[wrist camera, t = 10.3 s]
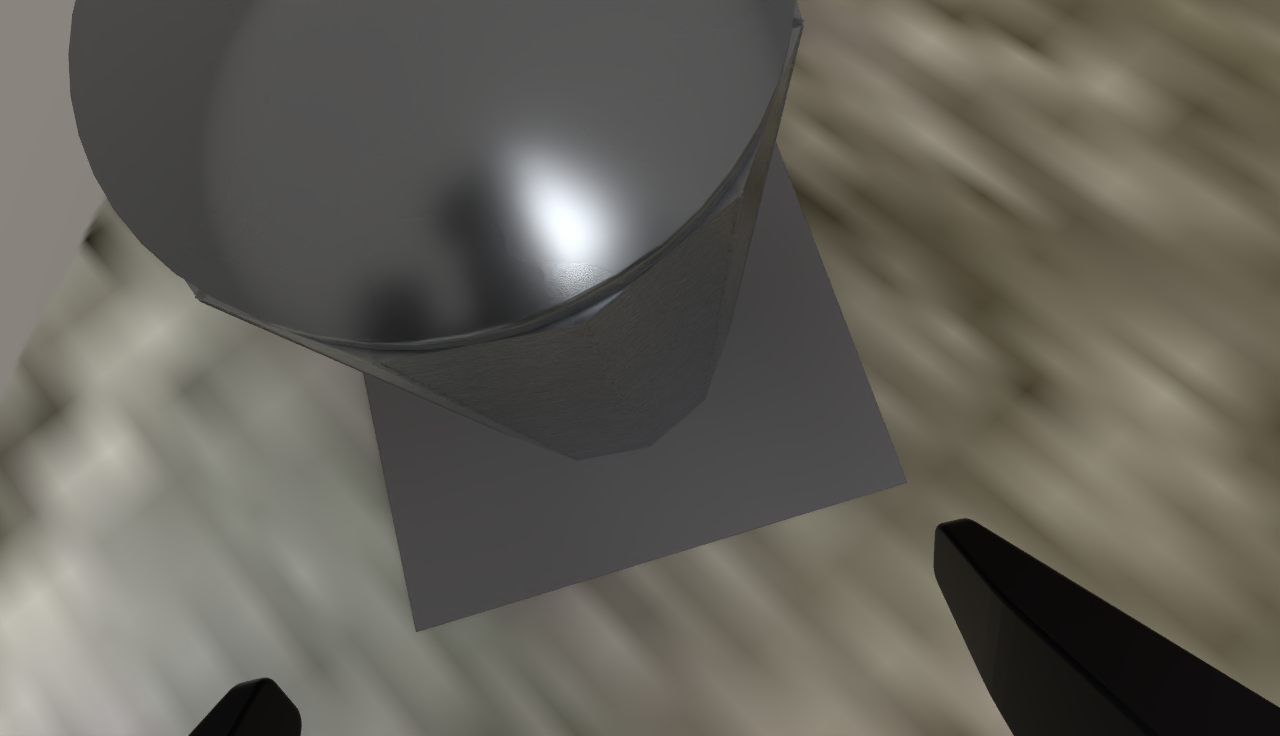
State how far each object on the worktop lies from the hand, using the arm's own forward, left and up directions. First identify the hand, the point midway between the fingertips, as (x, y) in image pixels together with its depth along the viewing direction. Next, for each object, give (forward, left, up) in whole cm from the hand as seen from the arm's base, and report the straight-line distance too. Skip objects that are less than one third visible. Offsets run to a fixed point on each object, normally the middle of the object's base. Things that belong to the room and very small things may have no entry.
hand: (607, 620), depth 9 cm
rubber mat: (+7, -1, -9) cm, 11 cm away
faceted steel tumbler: (+7, -1, -8) cm, 10 cm away
